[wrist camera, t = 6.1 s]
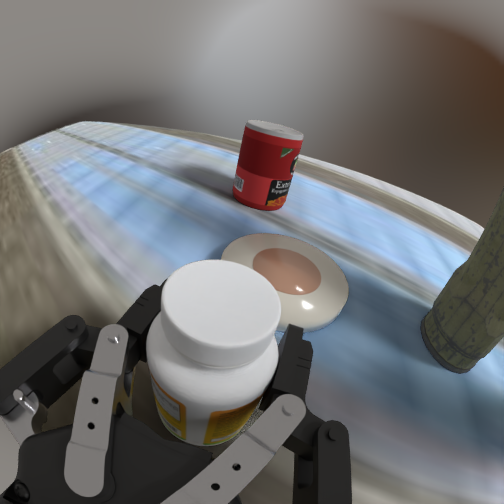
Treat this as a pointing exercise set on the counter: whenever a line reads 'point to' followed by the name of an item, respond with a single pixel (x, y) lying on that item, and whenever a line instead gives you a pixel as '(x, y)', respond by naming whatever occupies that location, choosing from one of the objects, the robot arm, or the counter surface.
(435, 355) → the thermos
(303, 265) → the coaster
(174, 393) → the supplement bottle
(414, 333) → the counter surface
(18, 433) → the robot arm
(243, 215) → the counter surface
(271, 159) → the canned food
